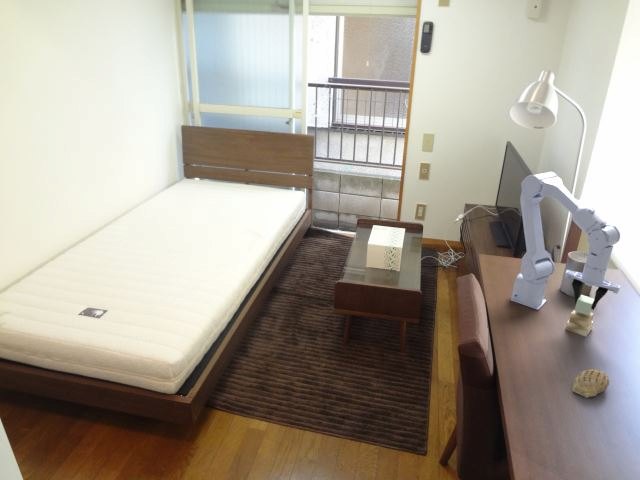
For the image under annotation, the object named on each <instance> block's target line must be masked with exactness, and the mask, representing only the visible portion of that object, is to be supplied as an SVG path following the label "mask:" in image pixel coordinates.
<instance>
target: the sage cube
mask: <svg viewBox="0 0 640 480" xmlns="http://www.w3.org/2000/svg"><path fill="white" fill-rule="evenodd" d="M594 299H595V298H593V297H590V296H589V297H587V296H584V295H581V296H580V297H579V298H578V299H577V303H576V304H575V308H574V310H575V311H576V312H579V313H582V314H585V315H588V316H589V315H590V313H591V312H592V313H593V311H594V310H593V309H591V308H592V305H593V302H594Z"/></svg>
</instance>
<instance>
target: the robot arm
mask: <svg viewBox="0 0 640 480" xmlns="http://www.w3.org/2000/svg"><path fill="white" fill-rule="evenodd" d="M520 186H521V194H520V197H519V202H520V203H519V204H520V209H521V216H522V217H521V218H522V224H523V233H524V239H525V240H524V241H525V248H526V252H525V254H524V255H523V256H522V258H521V267H520V273H518V274H517V276H516V278H515V280H514V283H513V288H512V293H511V297H510V301H512V302H515V303H516V304H520V305H523V306H526V307H528V308H531V309H534V310H537V311H539V310H540V309H541V308H542V307H543V306H544V305H545V303H546V302H547V299H546V298H544V297H545V292H546V289H547V284H548V280H549V278H550V276H552V275H553V274H554V273H555V270H556V269H555V268H556V267H555V263H554V261H553V260H552V256H551V253H549V251H547V250H546V247H545V240H544V239H545V238H544V231H543V223H542V215H541V209H540V207H541V206H540V202H541V201H543V199H544V198H545V197H548V198H549V197H550V198H553V199H555V201H557V202H558V203H559V204H560V205H561V206H562V207H564V208H565V209H566V210H567V211H568V212H569V213H571V215H572V217H571V219H572V220H571V221H572V222H574V224H576V225H577V226H578V228H579V229H580V230H581V231H582V232H583V233H584V234H585V235H586V236H587V237H586V238H587V242H588V245H589V246H588V251H587V253H588V255H587V258H586V262H585V266H584V269H583V273H580V272H574V271H570V270H567V271H566V272H565V276H564V278H570V279H574V280H573V282H572V287H573V290H574V294H575V297H574V304H575V305H576V303H577V299H578V298H579V297H580V296H581V292H582V288H583V285H584V283H585V285H588V286H592V287H593V286H594V287H595V288H596V287H597V289H596V291H595V295H594V298H593V299H594V302H593V305H592V308H591V309H593V310H592V311H594V310H595V309H596V307H597V305H598V303H599V301H600V300H601V299H602V298H604V296H605V295H606V294H607V292H608V291H610V292H613V294H615V295H616V294H617V295H618V294H619V292H620V290H621V285H620V284H617V283H614V282H612V281H609V280H607V279H605V276H606V272H607V270H608V266H609V263H610V259H611V255H612V252H613V250H614V245H615V244H617V243H618V242H620V239H621V233H620V231H619V229H618V228H617V227H616V226H615V225H613V224H608V223H607V222H606V221H605V220H603V219H602V218H601V217H600V216H599V215H597V214H596V210H595V209H594V208H591V207H589V206H583V205H582V204H581V203H580V202H579V201H578V200H577V199H576V197H575V196H574V195H573V194H572V193H571V192H570V191H569V190H568V188H566V186H565V185H564V184H563V179H562V178H560V177H559V176H558V175H557V174H556V173H555V172H553V171H547V172H542V173H538V174H537V173H536V174H529V175H527V176H526V177H525V178H524V179H523V180H522V181H521V182H520Z"/></svg>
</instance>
